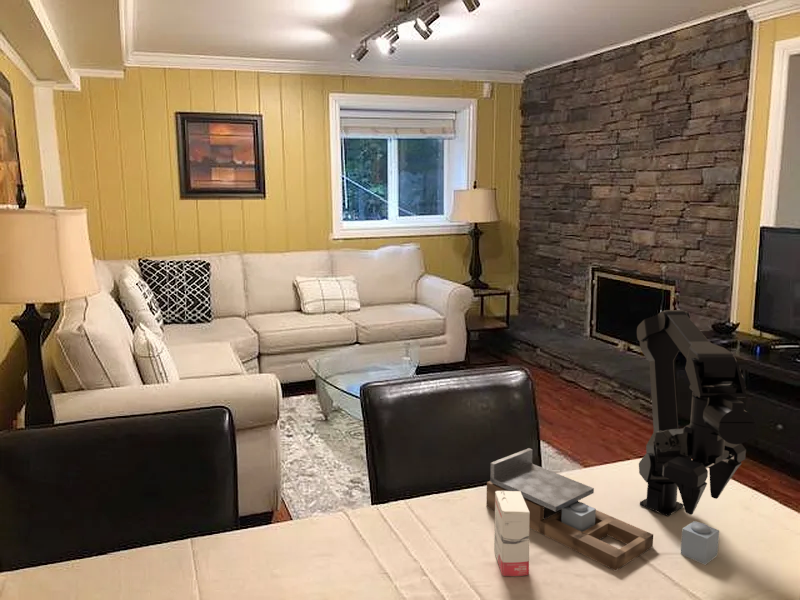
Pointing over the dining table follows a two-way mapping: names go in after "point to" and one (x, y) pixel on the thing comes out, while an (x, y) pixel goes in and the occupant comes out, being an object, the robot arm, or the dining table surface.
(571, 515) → the pale blue studded block
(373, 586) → the dining table surface
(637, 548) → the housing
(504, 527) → the ink box
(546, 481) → the lid
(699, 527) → the domed grey cube
